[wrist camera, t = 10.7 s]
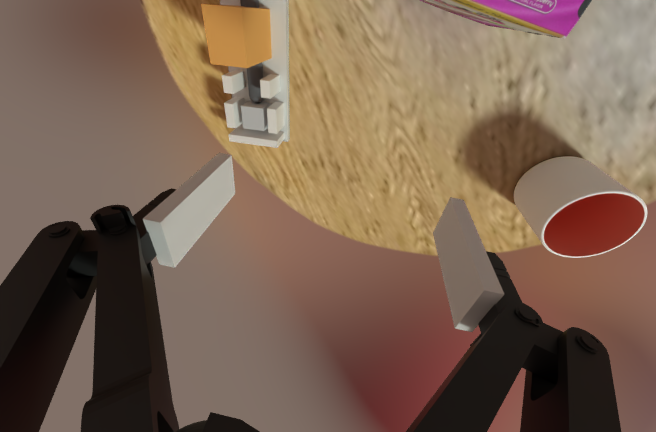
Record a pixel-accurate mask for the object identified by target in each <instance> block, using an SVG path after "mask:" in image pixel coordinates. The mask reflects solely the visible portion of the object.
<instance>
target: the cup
mask: <svg viewBox="0 0 656 432" xmlns="http://www.w3.org/2000/svg"><path fill="white" fill-rule="evenodd" d="M514 202H515V205H516V207H517V208H518V210H519V211H520V212H521V214H522V215H523V217H524V218H525V220H526V221H527V223H528V224H529V225H530V227H531V228H532V230H533V231H534V233H535V234H536V235H537V237H538V238H539V240H540V241H541V243H542V244H543V246H544V247H545V248H546V249H547V250H549V251H550V252H552V253H554V254H556V255H560V256H564V257H574V258H579V257H589V256H594V255H598V254H602V253H605V252H608V251H610V250H612V249H615V248H617V247H619V246H621V245H622V244H624V243H626V242H627V241H629V240H630V239H631V238H632V237H634V236H635V235H636V234H637V233H638V232H639V230H640V229H641V228H642V227H643V225H644V223H645V221H646V218H647V207H646V204H645V203H644V201H643V200H642V199H641V198H640V197H638V196H637V195H636V194H634V193H633V192H631V191H630V190H629V189H627V188H626V187H624V186H623V185H622V184H620V183H619V182H617V181H616V180H615V179H613V178H612V177H610V176H609V175H608V174H606V173H605V172H603V171H602V170H601V169H599V168H598V167H596V166H595V165H594V164H592V163H591V162H589V161H587V160H585V159H582V158H579V157H573V156H563V157H556V158H552V159H548V160H546V161H543V162H541V163H539V164H537V165H535V166H534V167H532V168H531V169H529V170H528V171H527V172H526V173H525V174H524V175H523V176H522V177H521V178H520V180H519V181H518V183H517V185H516V187H515V190H514Z"/></svg>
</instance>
